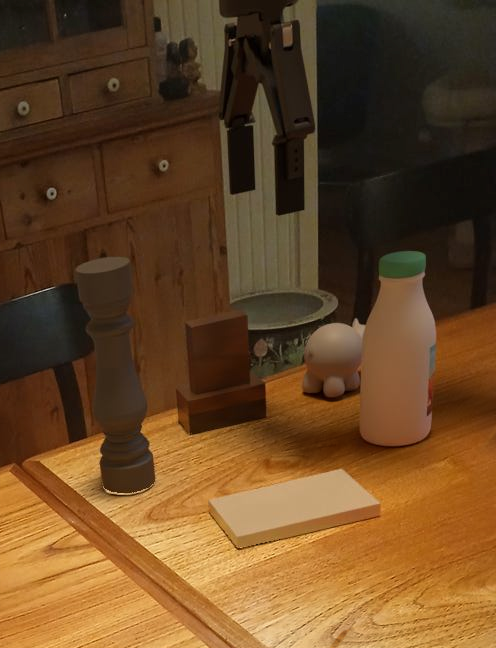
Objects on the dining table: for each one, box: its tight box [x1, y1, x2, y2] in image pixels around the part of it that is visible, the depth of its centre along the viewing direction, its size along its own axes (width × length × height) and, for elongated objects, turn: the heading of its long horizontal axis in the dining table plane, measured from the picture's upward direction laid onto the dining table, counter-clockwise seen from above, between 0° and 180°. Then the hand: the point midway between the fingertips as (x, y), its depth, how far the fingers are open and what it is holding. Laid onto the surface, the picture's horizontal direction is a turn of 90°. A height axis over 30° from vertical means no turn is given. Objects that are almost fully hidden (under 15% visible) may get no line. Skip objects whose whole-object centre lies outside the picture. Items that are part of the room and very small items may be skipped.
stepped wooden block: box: [175, 308, 268, 435], centre depth 122 cm, size 10×5×13 cm, turn 99°
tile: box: [207, 468, 382, 549], centre depth 102 cm, size 15×9×2 cm, turn 99°
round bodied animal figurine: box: [301, 317, 366, 398], centre depth 126 cm, size 7×12×8 cm, turn 121°
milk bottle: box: [359, 250, 437, 447], centre depth 108 cm, size 8×8×20 cm
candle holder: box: [74, 256, 156, 493], centre depth 108 cm, size 6×6×25 cm
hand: (265, 202), depth 104 cm, fingers open, 13 cm apart
